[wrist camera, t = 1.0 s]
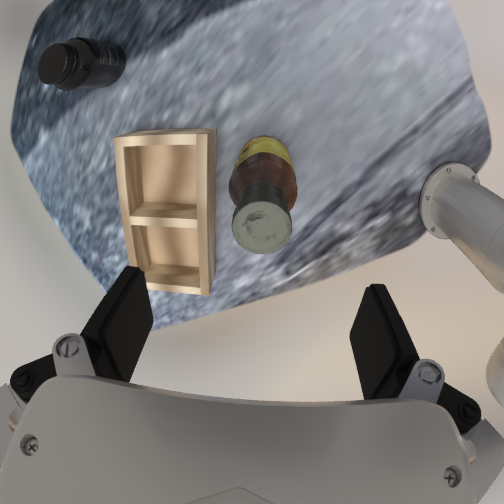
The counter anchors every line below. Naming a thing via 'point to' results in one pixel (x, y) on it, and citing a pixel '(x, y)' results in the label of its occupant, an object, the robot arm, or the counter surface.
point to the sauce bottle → (263, 195)
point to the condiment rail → (169, 206)
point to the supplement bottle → (81, 64)
